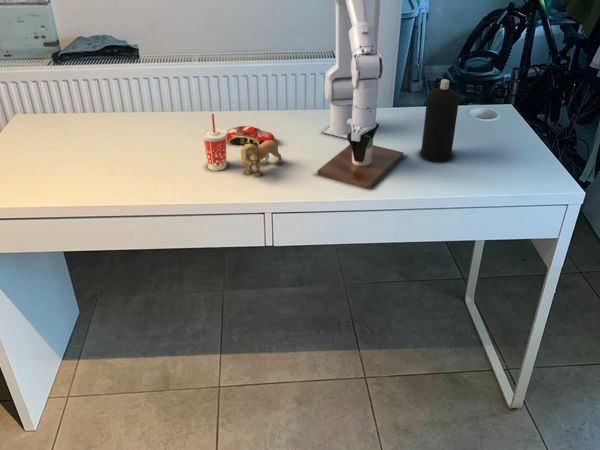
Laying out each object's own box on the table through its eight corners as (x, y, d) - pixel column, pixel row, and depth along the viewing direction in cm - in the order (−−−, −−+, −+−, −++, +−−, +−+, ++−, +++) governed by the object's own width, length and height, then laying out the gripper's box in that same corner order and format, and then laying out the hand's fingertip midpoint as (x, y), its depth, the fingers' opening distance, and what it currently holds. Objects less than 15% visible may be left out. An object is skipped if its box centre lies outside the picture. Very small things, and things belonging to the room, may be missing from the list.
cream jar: (354, 155, 157) (355, 133, 154) (374, 158, 155) (375, 136, 152) (349, 164, 153) (349, 142, 150) (368, 167, 151) (370, 145, 148)
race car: (277, 140, 168) (276, 126, 166) (271, 148, 164) (271, 135, 161) (231, 135, 171) (230, 122, 168) (224, 143, 166) (223, 130, 164)
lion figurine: (255, 184, 147) (253, 149, 142) (236, 178, 149) (234, 145, 144) (286, 159, 158) (285, 127, 153) (268, 155, 160) (267, 123, 155)
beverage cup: (233, 162, 157) (229, 111, 149) (222, 173, 152) (218, 120, 144) (211, 159, 158) (207, 107, 151) (200, 169, 154) (195, 117, 146)
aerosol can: (452, 163, 155) (463, 87, 145) (419, 161, 157) (427, 85, 146) (452, 149, 162) (462, 76, 151) (420, 147, 164) (428, 74, 153)
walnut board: (354, 144, 165) (355, 140, 165) (403, 156, 159) (403, 152, 158) (317, 174, 151) (317, 170, 150) (368, 189, 145) (369, 184, 144)
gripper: (356, 92, 153) (354, 142, 160) (339, 113, 142) (338, 166, 149) (384, 95, 151) (381, 146, 158) (369, 117, 140) (366, 170, 147)
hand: (362, 156), depth 154 cm, fingers closed on cream jar, 5 cm apart
